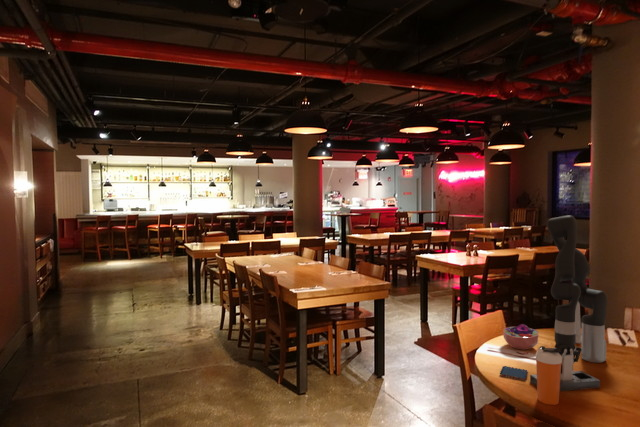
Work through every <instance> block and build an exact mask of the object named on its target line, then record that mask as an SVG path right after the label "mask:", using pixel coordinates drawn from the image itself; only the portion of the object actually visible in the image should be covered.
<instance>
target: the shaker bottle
mask: <svg viewBox="0 0 640 427" xmlns="http://www.w3.org/2000/svg"><path fill="white" fill-rule="evenodd" d="M559 352H560V350H558V349H555V348H554V347H545V346H544V345H541V346H539V347H538V349H537V351H536V352H535V363H536V364H535V365H536V367H535V368H536V374H537V386H536V387H537V391H536V392H537V399H538V401H539V402H541V403H542V404H545V405H553V406H555V405H558V404H559V402H560V392H561V391H560V375H561V363H562V357H561V355H560V354H559Z"/></svg>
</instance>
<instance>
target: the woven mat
mask: <svg viewBox="0 0 640 427" xmlns="http://www.w3.org/2000/svg"><path fill="white" fill-rule="evenodd" d="M528 375H529V371H528V370H527V369H523V368H517V367H511V366H507V365H505V366H502V367H501V369H500V371H499V377H502V378H507V379H512V380H518V381H523V382H526V381H527V380H528Z"/></svg>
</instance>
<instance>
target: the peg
mask: <svg viewBox="0 0 640 427" xmlns="http://www.w3.org/2000/svg"><path fill="white" fill-rule="evenodd" d="M563 357H564V359H563V363H562V374H561V375H560V379H561V380H563V381H568V380H573V371H574V364H573V355H570V354H569V355H564V356H563Z"/></svg>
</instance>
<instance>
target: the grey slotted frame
mask: <svg viewBox="0 0 640 427" xmlns="http://www.w3.org/2000/svg"><path fill="white" fill-rule="evenodd" d="M529 382H530V383H531V384H532V385H534V386H536V387H537V373H536V374H530V375H529ZM598 388H601V380H600V379H599V378H597V377H595V376H592V375H590V374H589V373H587V372H585V371H583V370H573V380H568V381H563V380H561V379H560V391H559V392H566V391H567V392H568V391H569V392H570V391H578V390H588V389H598Z"/></svg>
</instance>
